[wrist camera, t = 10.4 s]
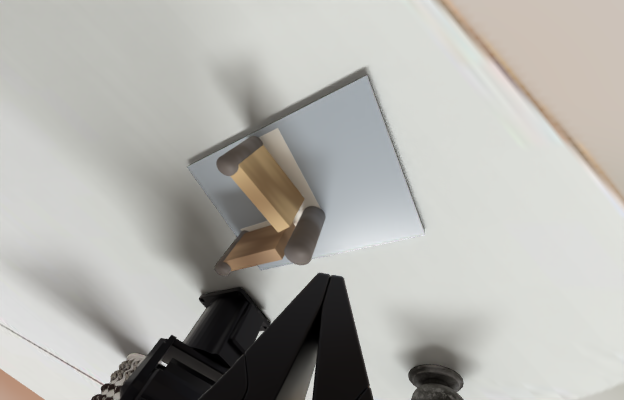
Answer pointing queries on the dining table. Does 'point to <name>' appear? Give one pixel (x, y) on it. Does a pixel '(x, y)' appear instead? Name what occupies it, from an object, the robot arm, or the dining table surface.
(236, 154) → the fence panel
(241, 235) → the fixed fence
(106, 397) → the decorative candle
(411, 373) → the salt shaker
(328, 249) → the card
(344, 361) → the robot arm
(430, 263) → the dining table surface
